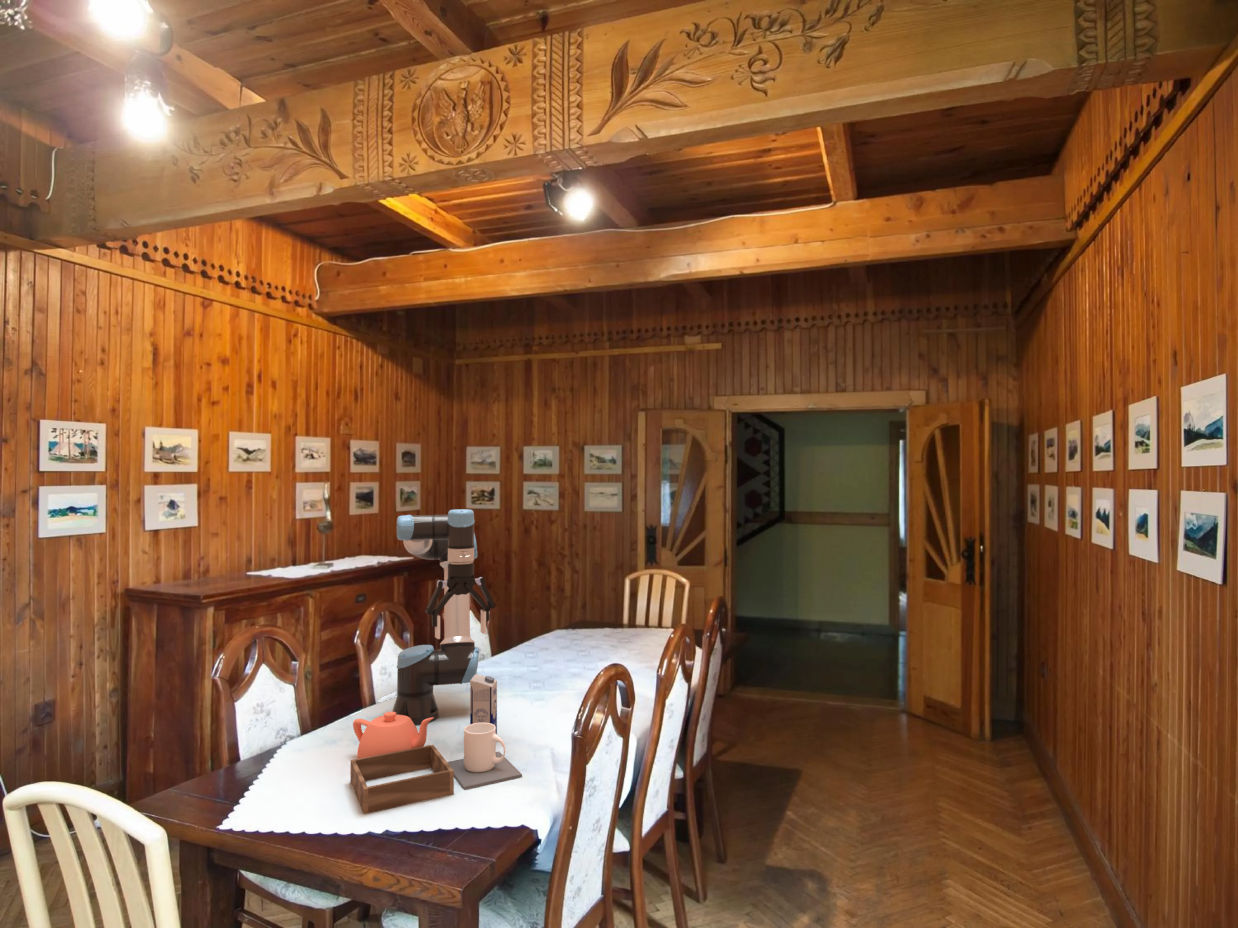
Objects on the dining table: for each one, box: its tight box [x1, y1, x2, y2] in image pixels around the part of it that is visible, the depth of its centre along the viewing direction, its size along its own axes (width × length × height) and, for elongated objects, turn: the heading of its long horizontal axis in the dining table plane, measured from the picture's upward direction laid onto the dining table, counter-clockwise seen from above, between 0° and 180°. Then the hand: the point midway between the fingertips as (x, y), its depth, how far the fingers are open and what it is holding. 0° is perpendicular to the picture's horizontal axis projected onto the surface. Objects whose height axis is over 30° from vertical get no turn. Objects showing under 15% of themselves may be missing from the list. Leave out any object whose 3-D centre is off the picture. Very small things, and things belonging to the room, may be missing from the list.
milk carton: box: [469, 674, 498, 735], centre depth 219 cm, size 7×7×20 cm
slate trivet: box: [447, 751, 523, 791], centre depth 198 cm, size 18×16×1 cm
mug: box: [463, 723, 506, 772], centre depth 198 cm, size 9×12×11 cm
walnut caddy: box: [349, 744, 455, 815], centre depth 187 cm, size 20×22×6 cm
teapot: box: [352, 711, 434, 759], centre depth 205 cm, size 25×17×13 cm
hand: (460, 635), depth 209 cm, fingers open, 13 cm apart
